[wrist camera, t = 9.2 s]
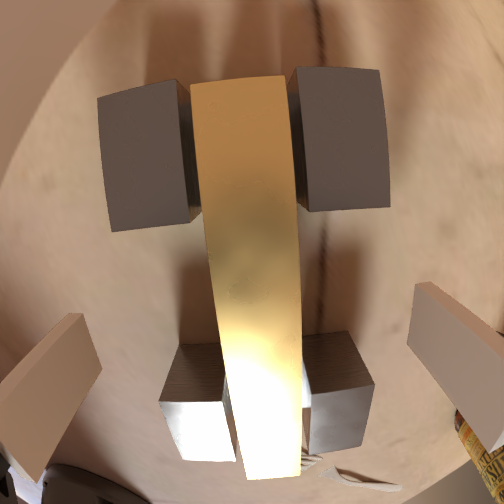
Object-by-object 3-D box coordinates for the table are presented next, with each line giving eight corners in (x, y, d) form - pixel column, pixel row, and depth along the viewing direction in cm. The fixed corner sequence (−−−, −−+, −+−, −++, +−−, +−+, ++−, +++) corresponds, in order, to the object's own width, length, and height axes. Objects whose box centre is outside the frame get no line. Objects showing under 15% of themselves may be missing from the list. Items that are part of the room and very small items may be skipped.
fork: (401, 495, 25) (404, 505, 24) (252, 453, 21) (252, 470, 19) (421, 482, 25) (425, 492, 23) (278, 436, 20) (280, 453, 19)
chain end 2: (194, 403, 19) (183, 459, 14) (178, 344, 17) (158, 401, 12) (342, 391, 18) (361, 446, 14) (347, 330, 17) (374, 384, 12)
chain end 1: (152, 210, 15) (111, 232, 10) (142, 115, 14) (97, 97, 9) (348, 192, 15) (390, 207, 10) (341, 95, 13) (378, 70, 9)
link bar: (248, 400, 17) (247, 479, 12) (215, 116, 13) (189, 84, 7) (289, 397, 17) (299, 475, 12) (270, 111, 13) (284, 75, 7)
